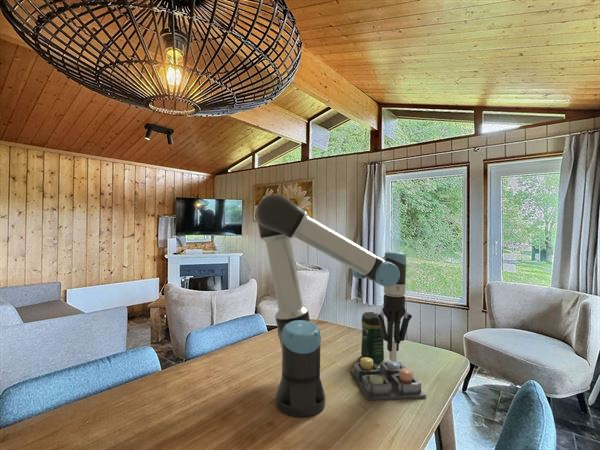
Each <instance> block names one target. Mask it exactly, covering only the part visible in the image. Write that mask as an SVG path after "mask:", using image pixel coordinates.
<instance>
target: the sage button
mask: <svg viewBox="0 0 600 450" xmlns="http://www.w3.org/2000/svg"><path fill="white" fill-rule="evenodd" d="M370 383H371V384H383V377H381V376H379V375H371V376H370Z"/></svg>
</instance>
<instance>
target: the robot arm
mask: <svg viewBox="0 0 600 450" xmlns="http://www.w3.org/2000/svg"><path fill="white" fill-rule="evenodd" d="M255 218H256V221H257V225H258V231H259V236H260V239H261V240H262V241H263V242H265V244H266V250H267V254H268V261H269V266H270V272H271V277H272V282H273V287H274V293H275V297H276V304H277V309H278V310H277V312H276V313H275V315H274V316H275V323H276V329H277V336H278V340H279V343H280V348H281V379H280V380H279V384H278V388H277V390H276V394H275V406H276V408H277V410H279V412H281V413H283V414H285V415H288V416H290V417H297V418H304V417H305V418H306V417H312V416H315V415H318V414H319V413H321V412H322V411H323V410H324V409H325V407H326V393H325V390H324V387H323V383H322V380H321V343H322V336H321V329H320V327H319V326H318V325H317V324H316V323H314V322H311V319H310V314H309V313H310V312H309V309H308V307H306V306H305V305H304V304H303V299H302V298H303V297H302V294H301V290H300V289H301V288H300V282H299V277H298V271H297V267H296V261H295V255H294V251H293V246H292V240H291V239H294V238H296V239H298V240H300V242H301V241H302V242H303V243H305V244H306V245H309V246H310V247H313V248H314V249H316V250H318V251H319V252H322V253H323V254H324V255H327V256H328V257H330V258H332V259H334V260H336V261H338V262H339V263H341V264H342V265H345V266H346V267H348V268H350V269H351V273H352V276H353V278H355V279H362V280H363V279H368V280H370V281H372V282H373V283H377V284H378V285H380V286H382V287H383V294H384V295H383V307H382V309H381V311H380V312H377V313H375V314H376V316H377V318H378V319H379V324H380V329H381V334H382V338H383V339H384V341H385V342H386V343H387V345H386V349H387V351H388V353H389V355H388V356H389V357H388V359H389V360H390V361H396V362H397V352H399V350H400V344H401V342H403V341H405V340H406V339H405V338H406V335H407V331H408V326H409V322H410V321H411V319H412V317H413V316H412V314H411V313H409V312H407V309H406V296H405V295H406V284H407V283H406V282H407V281H406V278H407V277H406V276H407V266H408V265H407V256H406V254H405V253H404V252H401V251H386V252H385V253H384V256H382V257H380V256H378V255H376V254H375V253H373V252H371V251H369V250H368V249H366V248H364V247H362V246H360V245H359V244H357V243H356V242H354V241H352V240H351V239H349V238H347V237H345V236H343V235H342V234H339V233H338V232H336V231H334V230H333V229H331V228H329V227H328V226H326V225H324V224H322V223H321V222H319V221H317V220H316V219H314V218H312V217H310V216H309V215H308V213H307V211H306V210H305V209H303V208H301V207H300V206H298V205H297V204H295V203H293V202H292V201H291V200H290V199H288V198H287V197H286V196H285V197H284V196H283V195H282V194H281V195H280V194H277V193H276V194H275V193H274V194H269V195H266V196H264V197H263V198H261V200H260V201H259V203H258V205H257V206H256V210H255ZM385 317H386V323H385V319H383V318H385ZM401 320H402V321H401ZM386 325H387V327H386Z"/></svg>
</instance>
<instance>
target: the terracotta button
mask: <svg viewBox="0 0 600 450" xmlns="http://www.w3.org/2000/svg"><path fill="white" fill-rule="evenodd" d="M413 373H414V372H413V370H411V369H408V368H407V369H404V368H402V369H399V381H400V382H402V383H412V382H413V375H414V374H413Z"/></svg>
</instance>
